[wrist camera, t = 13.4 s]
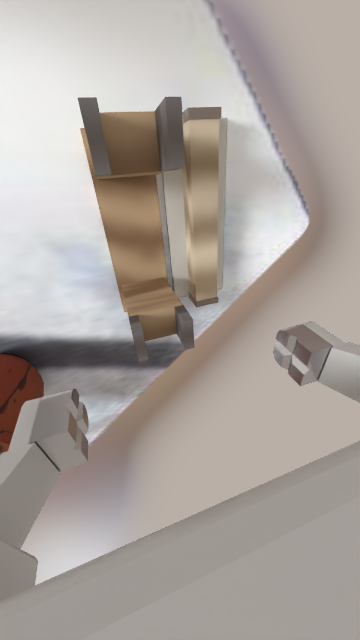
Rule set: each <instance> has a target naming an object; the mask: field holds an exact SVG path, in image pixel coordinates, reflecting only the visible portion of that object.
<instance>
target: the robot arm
mask: <svg viewBox="0 0 360 640" xmlns="http://www.w3.org/2000/svg"><path fill="white" fill-rule="evenodd" d="M276 339H277V340H278V342H277V343H276V344H275V346H274V350H273V354H274V357H275V360H276V361H277V363H278V364H279V365H280V366H281V367H283V368H286V369H288V373H289V375H290V376H291V377H292V378H293V379H294V380H295V381H296V382H297V383H298V384H299V385H300V386H302V385H305V384H309V383H312V382H315V381H318V382H320V383H322V384H324V385H326V386H328V387H330V388H331V389H334V390H335V391H337V392H339V393H341V394H343V395H345V396H348V397H349V398H351V399H353V400H356V401H357V402H360V345H357V344H354V343H350V342H347V343H345V342H343V341H342V340H340V339H339V338H337V337H336V336H334V335H333V334H331V333H330V332H328V331H327V330H325V329H324V328H322V327H321V326H319V325H318V324H316V323H315V322H311V321H310V322H306V323H303V324H300V325H296V326H293V327H289V328H286V329H282V330H279V331H278V333H277V335H276ZM87 431H88V415H87V411H86V408H85V406H84V404H83V403H82V402H79V394H78V392H77V391H76V389H71V390H67V391H63V392H59V393H55V394H51V395H47V396H44V397H41V398H37V399H33V400H29V401H26V402H25V403H24V404H23V406H22V408H21V411H20V414H19V418H18V421H17V424H16V427H15V430H14V434H13V437H12V440H11V443H10V446H9V450H8V451H6V452H3V453H2V454H1V455H0V640H360V441H358V442H356V443H354V444H351V445H349V446H347V447H345V448H342V449H340V450H338V451H336V452H333V453H331V454H329V455H327V456H324V457H322V458H320V459H318V460H316V461H313V462H311V463H309V464H306V465H304V466H302V467H300V468H298V469H295V470H293V471H291V472H289V473H287V474H284V475H282V476H280V477H277V478H275V479H273V480H271V481H268V482H266V483H264V484H262V485H259V486H257V487H255V488H253V489H251V490H248V491H246V492H244V493H241V494H239V495H237V496H235V497H233V498H230V499H228V500H226V501H224V502H221V503H219V504H217V505H215V506H212V507H210V508H208V509H206V510H203V511H201V512H199V513H197V514H195V515H192V516H190V517H188V518H185V519H183V520H181V521H179V522H176V523H174V524H172V525H170V526H168V527H165V528H163V529H161V530H159V531H156V532H154V533H152V534H149V535H147V536H145V537H143V538H141V539H138V540H136V541H134V542H132V543H129V544H127V545H125V546H123V547H120V548H118V549H116V550H114V551H111V552H109V553H107V554H105V555H102V556H100V557H98V558H96V559H94V560H91V561H89V562H87V563H84V564H82V565H80V566H78V567H76V568H73V569H71V570H69V571H67V572H64V573H62V574H60V575H58V576H55V577H53V578H51V579H49V580H46V581H44V582H42V583H40V584H37V585H35V580H36V571H37V565H38V561H37V559H36V558H35V557H34V556H32V555H30V554H28V553H27V552H25V551H23V550H20V548H21V546H22V545H23V543H24V541H25V539H26V537H27V535H28V533H29V532H30V530H31V527H32V526H33V524H34V522H35V520H36V518H37V517H38V514H39V513H40V511H41V509H42V507H43V505H44V503H45V502H46V499H47V498H48V496H49V494H50V492H51V490H52V488H53V486H54V485H55V483H56V481H57V479H58V477H59V475H60V472H61V471H63V470H66V469H68V468H71V467H74V466H76V465H79V464H82V463H84V462H87V461H88V441H87V439H86V437H85V434H86V432H87Z"/></svg>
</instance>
